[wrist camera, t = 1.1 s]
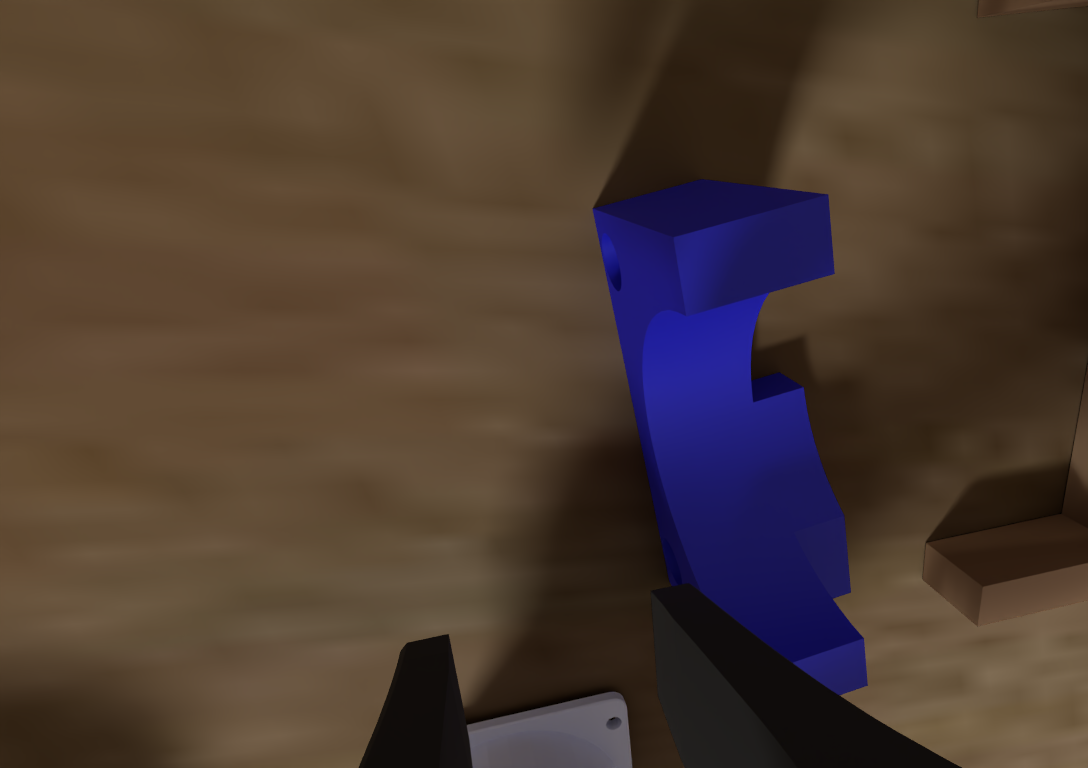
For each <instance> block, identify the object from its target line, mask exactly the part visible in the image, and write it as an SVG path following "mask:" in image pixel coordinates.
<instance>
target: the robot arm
mask: <svg viewBox="0 0 1088 768" xmlns="http://www.w3.org/2000/svg"><path fill="white" fill-rule="evenodd" d="M651 602H652V616H653V631H654V646H655V660H656V675H657V689H658V697H659V700H660V703H661V705H662V708H663V711H664V714H665V717H666V720H667V722H668V725H669V728H670V731H671V733H672V736H673V739H674V742H675V744H676V747H677V750H678V752H679V755H680V758H681V760H682V762H683V765H684V767H685V768H962V767H960V766H958V765H956V764H954V763H952V762H950V761H948V760H946V759H945V758H943V757H941V756H939V755H937V754H936V753H934V752H932V751H930V750H929V749H927V748H925V747H923V746H922V745H920V744H918V743H916V742H914V741H913V740H911V739H909V738H907V737H906V736H904V735H902V734H900V733H899V732H897V731H895V730H893V729H892V728H890V727H888V726H887V725H885V724H883V723H882V722H880V721H878V720H877V719H875V718H873V717H872V716H870V715H869V714H867V713H865V712H864V711H862V710H861V709H859V708H858V707H856V706H855V705H853V704H852V703H850V702H849V701H847V700H845V699H844V698H842V697H841V696H839V695H838V694H836V693H835V692H833V691H832V690H830V689H829V688H827V687H826V686H824V685H823V684H822V683H820V682H819V681H817V680H816V679H814V678H813V677H811V676H810V675H809V674H807V673H806V672H804V671H803V670H802V669H800V668H799V667H798V666H796V665H795V664H794V663H792V662H791V661H789V660H788V659H787V658H785V657H784V656H783V655H781V654H780V653H778V652H777V651H776V650H774V649H773V648H772V647H770V646H769V645H768V644H766V643H765V642H764V641H762V640H761V639H760V638H758V637H757V636H756V635H755V634H753V633H752V632H751V631H749V630H748V629H747V628H746V627H744V626H743V625H742V624H740V623H739V622H738V621H737V620H735V619H734V618H733V617H732V616H730V615H729V614H728V613H727V612H725V611H724V610H723V609H722V608H720V607H719V606H718V605H717V604H715V603H714V602H713V601H712V600H710V599H709V598H708V597H707V596H705V595H704V594H703V593H702V592H700V591H699V590H698V589H697V588H695V587H694V586H693V585H691V584H690V583H685V584H681V585H676V586H671V587H667V588H662V589H657V590H653V591H651ZM613 717H616V718H615V719H613V720H609V719H611V718H613ZM359 768H632V758H631V747H630V736H629V724H628V713H627V706H626V703H625V701H624V698H623V696H622V695H621V694H620V693H617V692H607V693H603V694H598V695H594V696H590V697H586V698H581V699H577V700H573V701H568V702H564V703H560V704H555V705H551V706H547V707H542V708H538V709H534V710H529V711H525V712H521V713H516V714H512V715H508V716H503V717H499V718H495V719H490V720H486V721H482V722H478V723H473V724H469V725H466V720H465V715H464V710H463V705H462V699H461V694H460V689H459V684H458V679H457V674H456V669H455V664H454V659H453V654H452V649H451V644H450V639H449V634H446V635H442V636H437V637H432V638H428V639H423V640H418V641H413V642H409V643H407V644H406V645H405V646H404V647H403V649H402V650H401V652H400V655H399V659H398V663H397V667H396V670H395V673H394V677H393V680H392V683H391V686H390V689H389V692H388V695H387V698H386V700H385V703H384V706H383V708H382V711H381V714H380V717H379V719H378V722H377V724H376V727H375V729H374V732H373V734H372V737H371V739H370V741H369V744H368V746H367V749H366V751H365V753H364V756H363V758H362V761H361V763H360V766H359Z"/></svg>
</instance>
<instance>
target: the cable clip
mask: <svg viewBox="0 0 1088 768" xmlns="http://www.w3.org/2000/svg"><path fill="white" fill-rule="evenodd" d="M593 213H594V218H595V223H596V227H597V232H598V237H599V242H600V247H601V252H602V257H603V261H604V266H605V271H606V276H607V281H608V286H609V291H610V295H611V300H612V305H613V310H614V315H615V320H616V325H617V329H618V334H619V339H620V344H621V349H622V354H623V359H624V363H625V368H626V373H627V378H628V383H629V388H630V393H631V397H632V402H633V407H634V412H635V417H636V422H637V427H638V431H639V436H640V441H641V446H642V451H643V456H644V460H645V465H646V470H647V475H648V480H649V485H650V490H651V494H652V499H653V504H654V509H655V514H656V519H657V524H658V528H659V533H660V538H661V543H662V548H663V553H664V558H665V562H666V567H667V572H668V577H669V582H670V583H671V585H672V586H676V585H681V584H685V583H690V584H691V585H693V586H694V587H695V588H697V589H698V590H699V591H700V592H702V593H703V594H704V595H705V596H707V597H708V598H709V599H710V600H712V601H713V602H714V603H715V604H717V605H718V606H719V607H720V608H722V609H723V610H724V611H725V612H727V613H728V614H729V615H730V616H732V617H733V618H734V619H735V620H737V621H738V622H739V623H740V624H742V625H743V626H744V627H746V628H747V629H748V630H749V631H751V632H752V633H753V634H755V635H756V636H757V637H758V638H760V639H761V640H762V641H764V642H765V643H766V644H768V645H769V646H770V647H772V648H773V649H774V650H776V651H777V652H778V653H780V654H781V655H783V656H784V657H785V658H787V659H788V660H789V661H791V662H792V663H794V664H795V665H796V666H798V667H799V668H800V669H802V670H803V671H804V672H806V673H807V674H809V675H810V676H811V677H813V678H814V679H816V680H817V681H819V682H820V683H822V684H823V685H824V686H826V687H827V688H829V689H830V690H832V691H833V692H835V693H836V694H838V695H842V694H844V693H847V692H850V691H853V690H856V689H859V688H862V687H865V686H868V684H867V671H866V659H865V647H864V638H863V637H862V636H861V635H860V633H859V632H858V631H857V630H856V629H855V628H854V626H853V625H852V624H851V623H850V622H849V620H848V619H847V618H846V616H845V615H844V614H843V613H842V611H841V610H840V609H839V607H838V606H837V605H836V603H835V602H834V600H833V598H836V597H839V596H842V595H845V594H848V593H851V588H850V576H849V565H848V553H847V542H846V530H845V519H844V514H843V512H842V510H841V508H840V506H839V504H838V502H837V500H836V498H835V496H834V493H833V491H832V489H831V486H830V484H829V482H828V479H827V477H826V474H825V472H824V469H823V466H822V463H821V461H820V458H819V455H818V451H817V448H816V445H815V442H814V438H813V434H812V430H811V426H810V422H809V417H808V413H807V407H806V401H805V394H804V387H802V386H801V385H799V384H798V383H796V382H794V381H793V380H791V379H790V378H788V377H786V376H785V375H783V374H781V373H780V372H779V373H775V374H772V375H769V376H765V377H762V378H759V379H755V380H752V381H751V348H752V339H753V333H754V328H755V323H756V320H757V317H758V314H759V311H760V309H761V306H762V304H763V302H764V300H765V299H766V297H767V295H768V294H769V293H770V292H773V291H777V290H780V289H784V288H787V287H790V286H794V285H797V284H801V283H804V282H808V281H811V280H815V279H818V278H822V277H825V276H829V275H832V274H835V273H834V261H833V248H832V236H831V223H830V211H829V198H828V194H820V193H811V192H803V191H795V190H787V189H778V188H770V187H762V186H754V185H745V184H737V183H729V182H721V181H712V180H704V179H701V180H697V181H693V182H690V183H686V184H682V185H678V186H675V187H671V188H667V189H664V190H660V191H656V192H652V193H649V194H645V195H641V196H638V197H634V198H630V199H627V200H623V201H619V202H615V203H612V204H608V205H604V206H601V207H597V208H593Z"/></svg>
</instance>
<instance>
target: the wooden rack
mask: <svg viewBox="0 0 1088 768" xmlns="http://www.w3.org/2000/svg"><path fill="white" fill-rule="evenodd" d="M1083 6H1088V0H979V4H978V14H977V18H979V17H989V16H998V15H1007V14H1017V13H1026V12H1036V11H1045V10H1055V9H1064V8H1073V7H1083ZM923 580H924V581H925V582H926V583H927V584H928V585H930V586H931V587H932V588H933V589H934V590H935V591H937V592H938V593H939V594H940V595H941V596H942V597H944V598H945V599H946V600H947V601H948V602H950V603H951V604H952V605H953V606H954V607H955V608H957V609H958V610H959V611H960V612H961V613H962V614H964V615H965V616H966V617H967V618H968V619H969V620H971V621H972V622H973V623H974V624H975V625H977V626H982V625H986V624H990V623H994V622H999V621H1003V620H1007V619H1011V618H1016V617H1020V616H1024V615H1028V614H1033V613H1037V612H1041V611H1045V610H1050V609H1054V608H1058V607H1062V606H1067V605H1071V604H1075V603H1079V602H1084V601H1088V366H1087V372H1086V378H1085V383H1084V389H1083V395H1082V400H1081V406H1080V412H1079V418H1078V423H1077V429H1076V435H1075V440H1074V446H1073V452H1072V458H1071V463H1070V469H1069V475H1068V481H1067V486H1066V492H1065V498H1064V503H1063V509H1062V514H1057V515H1053V516H1048V517H1044V518H1039V519H1034V520H1030V521H1025V522H1020V523H1016V524H1011V525H1006V526H1002V527H997V528H993V529H988V530H983V531H979V532H974V533H969V534H965V535H960V536H955V537H951V538H946V539H941V540H937V541H932V542H928V543H926V549H925V559H924V570H923Z"/></svg>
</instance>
